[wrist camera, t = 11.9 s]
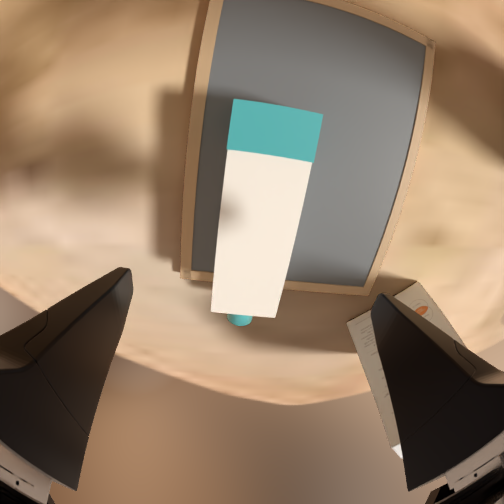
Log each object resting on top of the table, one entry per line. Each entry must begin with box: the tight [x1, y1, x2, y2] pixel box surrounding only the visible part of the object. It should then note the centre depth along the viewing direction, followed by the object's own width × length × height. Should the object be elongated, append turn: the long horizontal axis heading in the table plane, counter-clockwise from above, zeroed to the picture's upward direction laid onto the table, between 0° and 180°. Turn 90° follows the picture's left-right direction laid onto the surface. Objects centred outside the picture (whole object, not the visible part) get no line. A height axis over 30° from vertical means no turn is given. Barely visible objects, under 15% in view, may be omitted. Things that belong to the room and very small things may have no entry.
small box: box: [346, 282, 467, 458], centre depth 19 cm, size 8×6×13 cm
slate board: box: [180, 0, 436, 296], centre depth 16 cm, size 15×21×1 cm
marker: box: [211, 99, 323, 326], centre depth 16 cm, size 4×14×4 cm, turn 172°
